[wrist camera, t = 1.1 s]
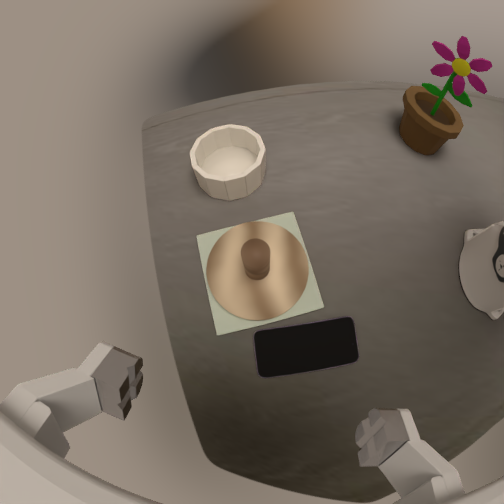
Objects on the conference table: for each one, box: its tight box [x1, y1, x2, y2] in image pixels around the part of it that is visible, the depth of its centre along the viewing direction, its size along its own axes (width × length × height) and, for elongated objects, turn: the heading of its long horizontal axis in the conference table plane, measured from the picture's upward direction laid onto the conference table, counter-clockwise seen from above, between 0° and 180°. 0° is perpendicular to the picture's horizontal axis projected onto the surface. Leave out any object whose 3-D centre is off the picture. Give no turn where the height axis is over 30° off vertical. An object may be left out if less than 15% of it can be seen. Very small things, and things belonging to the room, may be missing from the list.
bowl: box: [190, 124, 266, 201], centre depth 45 cm, size 12×12×6 cm
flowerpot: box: [399, 36, 492, 155], centre depth 36 cm, size 14×14×30 cm
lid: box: [206, 221, 309, 321], centre depth 38 cm, size 15×15×8 cm
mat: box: [197, 212, 324, 336], centre depth 42 cm, size 16×16×1 cm
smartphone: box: [253, 316, 359, 378], centre depth 38 cm, size 7×1×15 cm
